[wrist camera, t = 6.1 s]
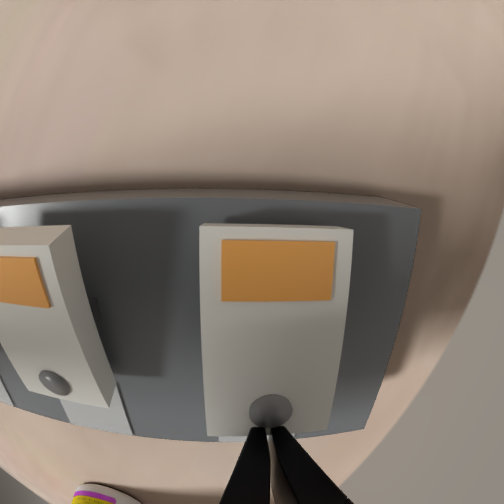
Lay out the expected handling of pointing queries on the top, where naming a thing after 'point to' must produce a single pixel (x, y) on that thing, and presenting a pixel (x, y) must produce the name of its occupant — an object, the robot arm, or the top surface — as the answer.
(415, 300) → the top surface
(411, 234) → the rocker switch panel
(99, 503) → the supplement bottle
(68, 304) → the rocker middle
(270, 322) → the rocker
